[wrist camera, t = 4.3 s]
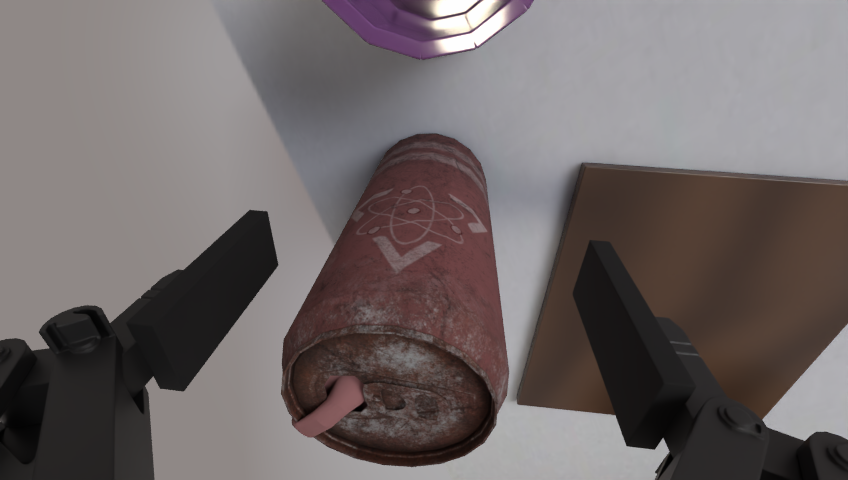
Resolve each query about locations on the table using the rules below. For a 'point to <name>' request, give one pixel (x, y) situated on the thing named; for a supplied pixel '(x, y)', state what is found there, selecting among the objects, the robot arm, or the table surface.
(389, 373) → the can
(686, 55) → the table surface
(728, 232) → the placemat
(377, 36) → the purple faceted cup
